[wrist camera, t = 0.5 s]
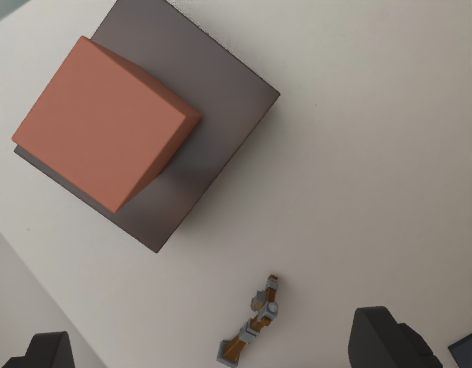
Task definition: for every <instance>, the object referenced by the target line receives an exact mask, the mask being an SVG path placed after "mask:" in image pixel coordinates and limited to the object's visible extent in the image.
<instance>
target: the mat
mask: <svg viewBox="0 0 472 368" xmlns="http://www.w3.org/2000/svg"><path fill="white" fill-rule="evenodd" d="M448 349H449V351H450V352H451V354H452V356H453V357H454V359H455V361H456V363H457V364H458V366H459V368H472V334H471V335H469V336H467V337H465V338H464V339H462V340H460V341H458V342H456V343H455V344H453V345H451V346H449V347H448Z"/></svg>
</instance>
